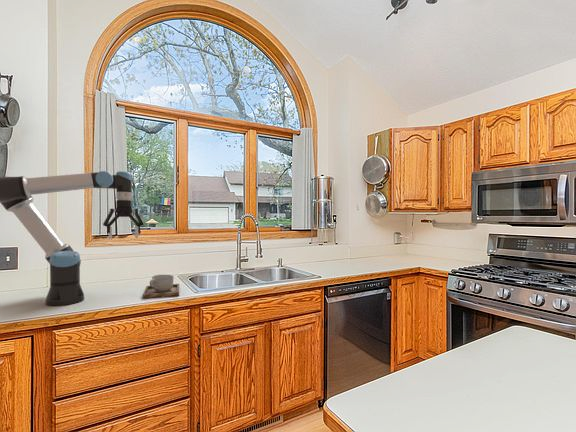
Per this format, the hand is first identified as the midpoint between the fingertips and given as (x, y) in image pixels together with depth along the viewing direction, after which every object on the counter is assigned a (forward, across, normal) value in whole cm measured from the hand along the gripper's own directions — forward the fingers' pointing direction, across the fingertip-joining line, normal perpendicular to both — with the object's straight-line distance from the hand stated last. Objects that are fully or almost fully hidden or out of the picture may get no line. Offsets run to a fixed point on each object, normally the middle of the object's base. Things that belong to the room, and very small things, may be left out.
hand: (123, 238), depth 180 cm
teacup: (+27, +11, -22) cm, 37 cm away
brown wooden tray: (+28, +12, -23) cm, 38 cm away
